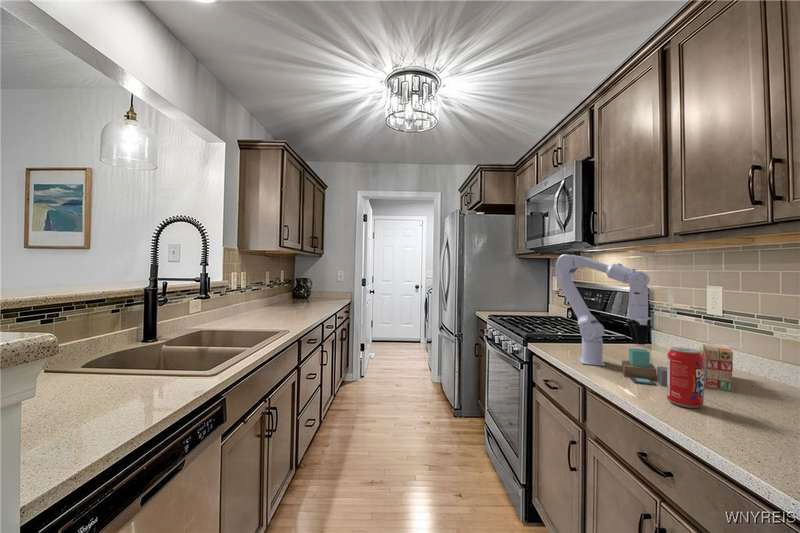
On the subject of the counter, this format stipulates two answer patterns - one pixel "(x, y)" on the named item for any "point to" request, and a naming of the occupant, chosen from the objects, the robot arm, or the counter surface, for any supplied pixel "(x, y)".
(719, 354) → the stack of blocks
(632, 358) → the teal cube
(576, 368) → the counter surface
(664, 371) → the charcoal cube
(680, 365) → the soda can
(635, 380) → the mat
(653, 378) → the walnut block
